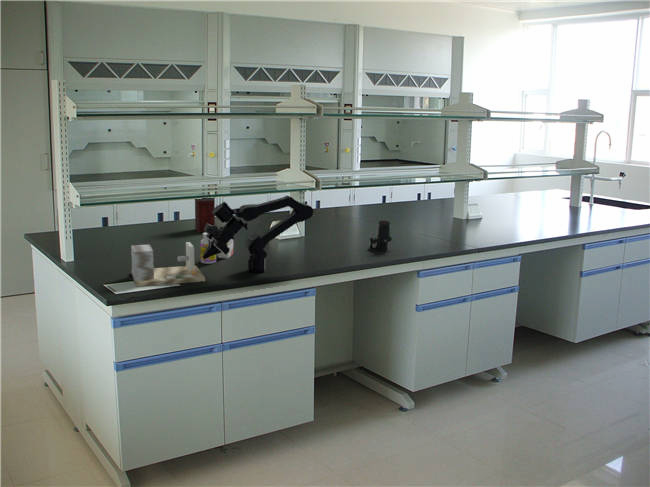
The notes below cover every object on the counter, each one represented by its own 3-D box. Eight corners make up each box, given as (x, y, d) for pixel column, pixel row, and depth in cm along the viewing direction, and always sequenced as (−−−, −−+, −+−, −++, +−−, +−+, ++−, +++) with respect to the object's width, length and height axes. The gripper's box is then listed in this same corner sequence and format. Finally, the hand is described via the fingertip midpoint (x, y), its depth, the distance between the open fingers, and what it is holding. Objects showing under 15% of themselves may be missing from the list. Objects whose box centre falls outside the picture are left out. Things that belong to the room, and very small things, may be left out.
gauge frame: (195, 268, 270) (195, 239, 268) (205, 281, 253) (204, 250, 250) (131, 273, 261) (130, 243, 258) (136, 286, 244) (135, 254, 241)
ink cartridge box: (223, 253, 297) (223, 222, 294) (233, 254, 297) (233, 222, 293) (217, 257, 289) (216, 225, 286) (227, 258, 288) (227, 226, 285)
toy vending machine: (211, 227, 352) (210, 176, 346) (215, 231, 342) (214, 179, 336) (194, 228, 349) (193, 176, 343) (198, 232, 339) (197, 179, 332)
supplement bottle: (197, 262, 281) (197, 233, 278) (208, 259, 286) (207, 231, 283) (208, 265, 277) (208, 235, 274) (219, 262, 282) (219, 233, 279)
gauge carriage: (190, 268, 264) (189, 242, 262) (196, 277, 252) (196, 249, 250) (176, 269, 262) (175, 242, 260) (182, 278, 250) (181, 250, 248)
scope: (370, 220, 314) (390, 220, 316) (368, 247, 317) (388, 247, 319) (374, 223, 306) (394, 223, 308) (372, 251, 309) (393, 251, 311)
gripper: (210, 212, 267) (184, 240, 266) (221, 221, 251) (193, 250, 249) (229, 230, 272) (203, 257, 270) (241, 240, 255) (213, 269, 254)
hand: (203, 258), depth 261 cm, fingers closed
